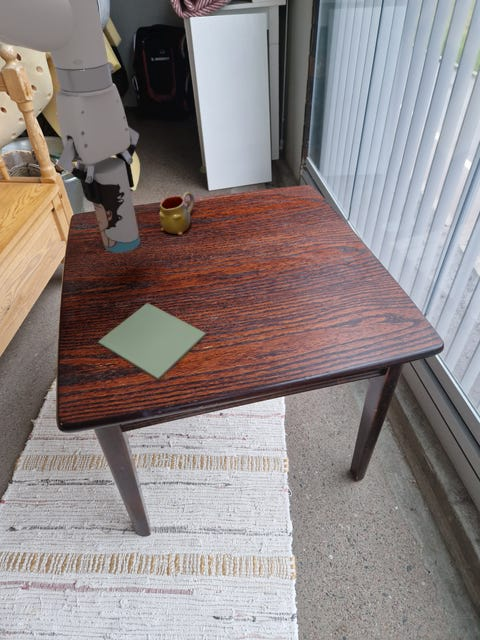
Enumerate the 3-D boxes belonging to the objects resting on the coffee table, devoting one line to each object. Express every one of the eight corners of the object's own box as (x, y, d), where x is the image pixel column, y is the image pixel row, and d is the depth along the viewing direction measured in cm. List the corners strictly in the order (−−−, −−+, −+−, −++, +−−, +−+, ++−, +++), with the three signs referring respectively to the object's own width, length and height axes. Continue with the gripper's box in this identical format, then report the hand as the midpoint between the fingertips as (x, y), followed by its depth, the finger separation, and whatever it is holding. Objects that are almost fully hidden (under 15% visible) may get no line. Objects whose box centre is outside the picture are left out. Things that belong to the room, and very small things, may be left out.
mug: (179, 238, 95) (176, 212, 91) (155, 231, 98) (150, 205, 93) (207, 214, 103) (205, 188, 98) (184, 208, 105) (181, 182, 101)
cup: (120, 229, 83) (103, 154, 73) (147, 239, 81) (133, 162, 70) (96, 246, 79) (74, 168, 69) (124, 256, 76) (105, 177, 66)
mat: (158, 380, 66) (158, 378, 66) (98, 343, 72) (97, 341, 72) (206, 335, 73) (205, 332, 73) (147, 305, 79) (147, 302, 79)
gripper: (112, 63, 68) (132, 170, 80) (15, 88, 57) (55, 207, 69) (145, 69, 64) (161, 180, 77) (50, 97, 54) (85, 220, 66)
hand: (110, 192), depth 73 cm, fingers closed on cup, 6 cm apart
